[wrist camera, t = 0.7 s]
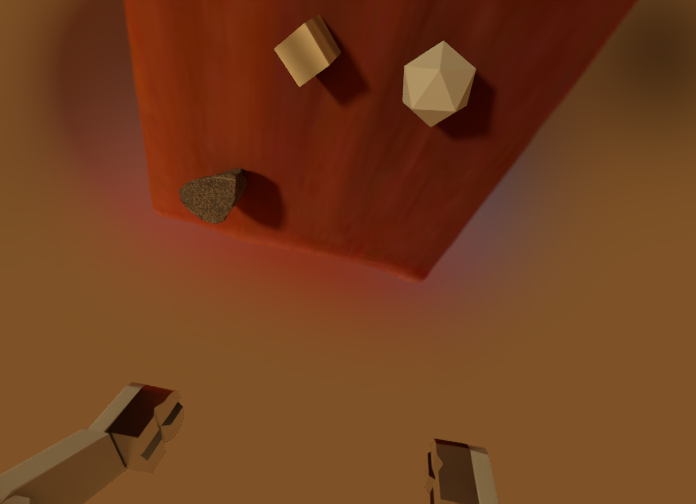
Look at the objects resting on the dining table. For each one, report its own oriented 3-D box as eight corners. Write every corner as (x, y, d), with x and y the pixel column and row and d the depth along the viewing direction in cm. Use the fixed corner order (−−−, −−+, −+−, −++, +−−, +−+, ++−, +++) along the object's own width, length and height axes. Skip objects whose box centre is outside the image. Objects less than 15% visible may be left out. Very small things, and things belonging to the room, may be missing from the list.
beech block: (319, 13, 42) (304, 23, 38) (341, 52, 45) (329, 65, 40) (291, 37, 45) (274, 48, 40) (313, 72, 47) (299, 86, 43)
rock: (227, 153, 54) (245, 209, 54) (257, 163, 64) (273, 210, 64) (169, 179, 57) (187, 232, 57) (206, 185, 67) (221, 230, 67)
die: (399, 104, 48) (429, 151, 44) (382, 55, 40) (416, 105, 36) (452, 71, 46) (489, 116, 42) (444, 13, 39) (487, 61, 34)
